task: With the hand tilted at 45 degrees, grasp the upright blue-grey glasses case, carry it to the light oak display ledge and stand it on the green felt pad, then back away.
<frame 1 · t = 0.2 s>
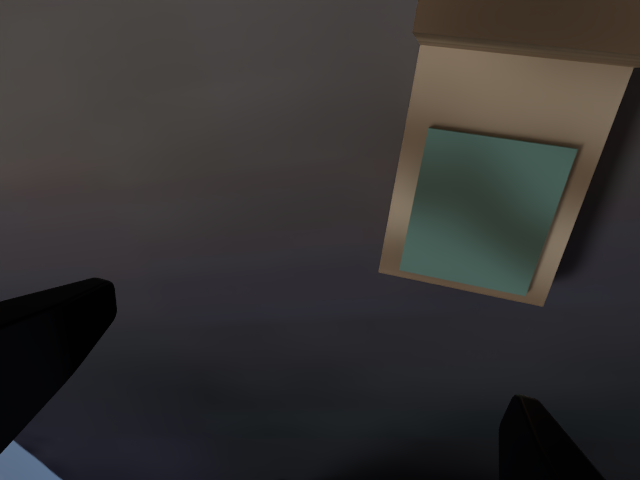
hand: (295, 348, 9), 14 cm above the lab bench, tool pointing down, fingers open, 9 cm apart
display ledge: (485, 162, 20), on the lab bench
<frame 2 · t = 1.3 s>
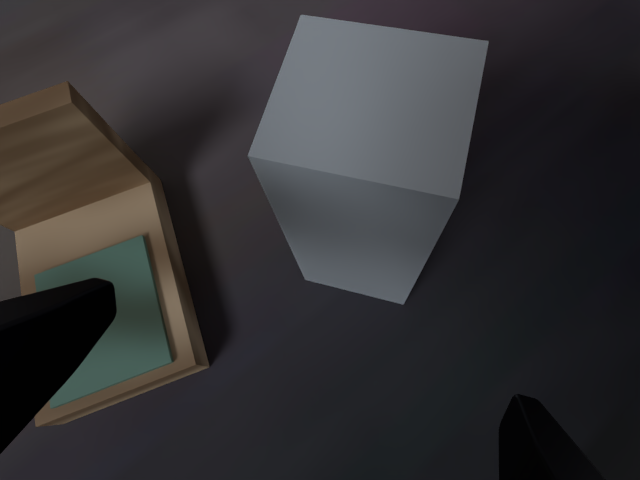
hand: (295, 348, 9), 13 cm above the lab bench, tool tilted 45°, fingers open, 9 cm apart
glasses case: (364, 249, 24), on the lab bench
display ledge: (116, 290, 24), on the lab bench
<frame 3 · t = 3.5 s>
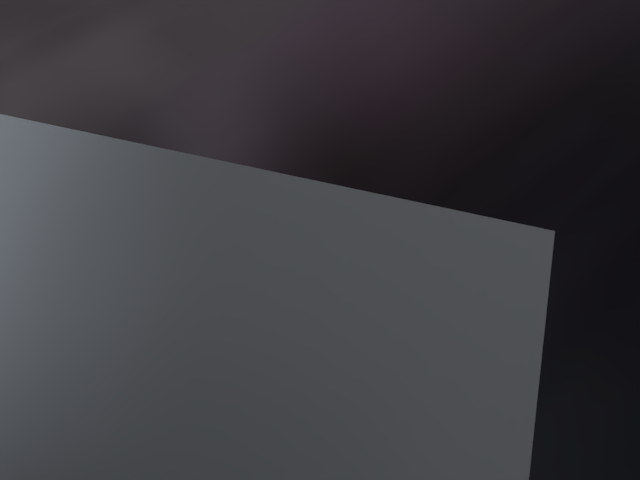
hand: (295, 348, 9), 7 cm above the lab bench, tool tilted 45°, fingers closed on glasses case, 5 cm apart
glasses case: (311, 404, 15), on the lab bench, touching gripper
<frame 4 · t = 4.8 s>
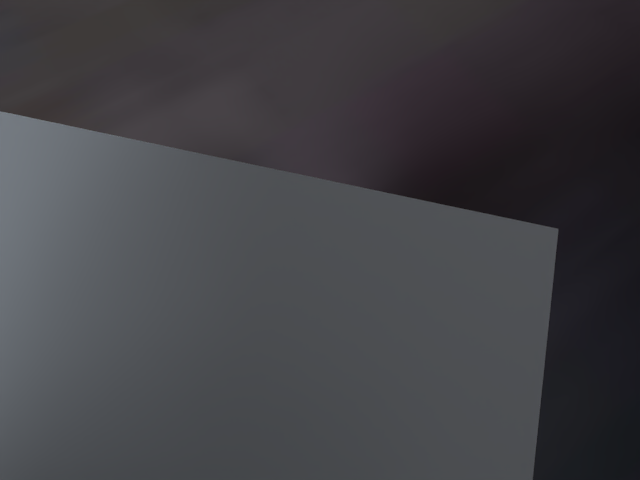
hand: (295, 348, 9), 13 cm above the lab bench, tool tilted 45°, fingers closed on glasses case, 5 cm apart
glasses case: (312, 403, 15), point 6 cm above the lab bench, touching gripper
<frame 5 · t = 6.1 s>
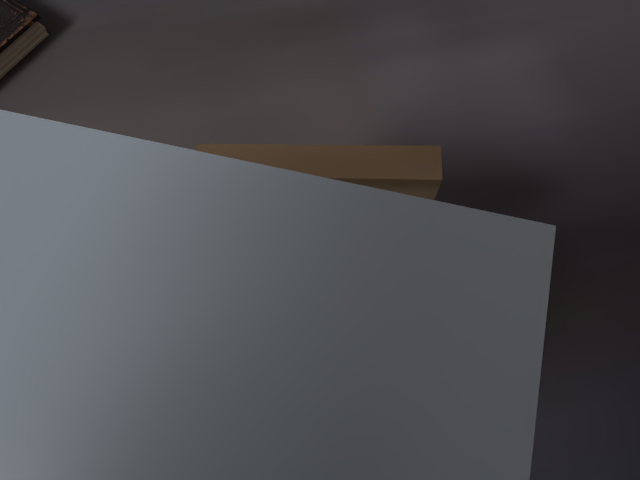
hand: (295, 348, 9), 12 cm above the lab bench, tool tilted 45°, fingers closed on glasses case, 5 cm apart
glasses case: (311, 403, 15), point 4 cm above the lab bench, touching gripper
display ledge: (325, 353, 20), on the lab bench
when the fingers open (10 cm above the lab bench, at t = 6.8 s): glasses case stays where it is, resting on display ledge.
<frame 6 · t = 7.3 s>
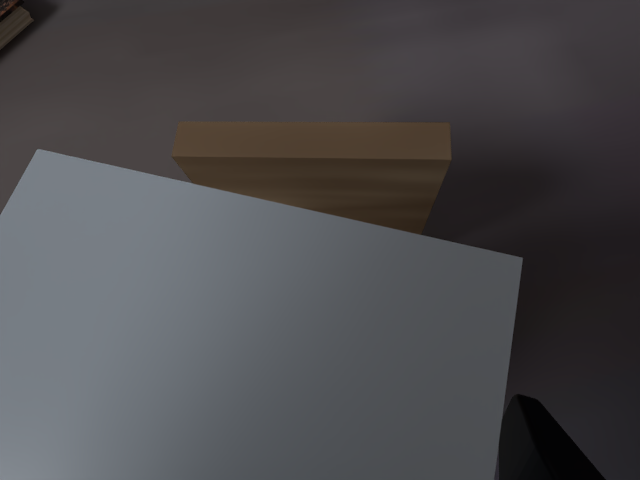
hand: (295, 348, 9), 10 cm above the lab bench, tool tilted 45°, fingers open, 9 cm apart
glasses case: (313, 403, 16), point 2 cm above the lab bench, touching display ledge
display ledge: (321, 354, 19), on the lab bench
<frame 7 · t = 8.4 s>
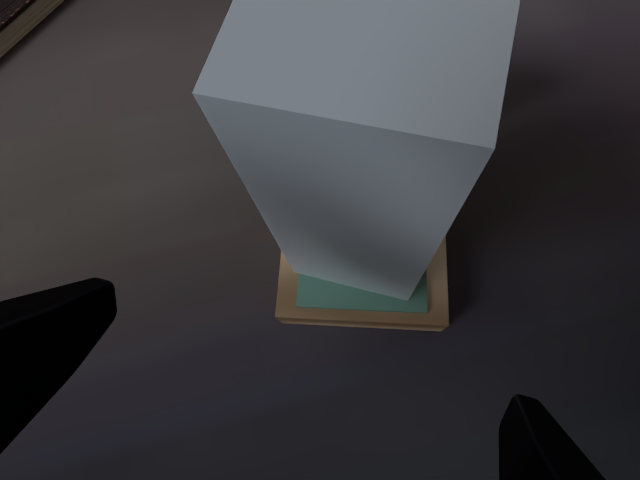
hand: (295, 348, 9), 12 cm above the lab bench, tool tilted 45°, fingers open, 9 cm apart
glasses case: (362, 237, 20), point 2 cm above the lab bench, touching display ledge
display ledge: (363, 217, 23), on the lab bench
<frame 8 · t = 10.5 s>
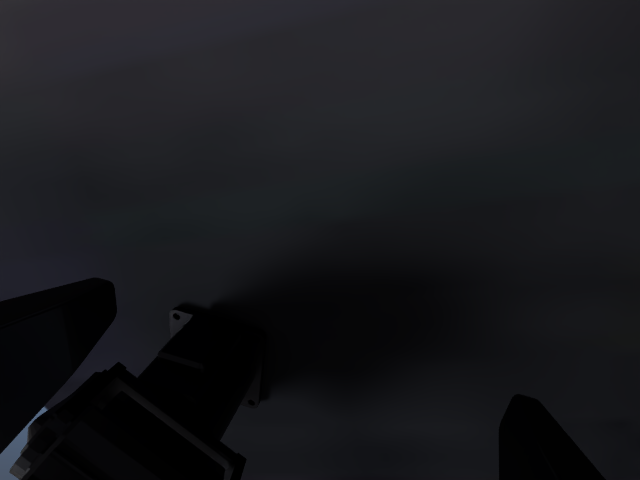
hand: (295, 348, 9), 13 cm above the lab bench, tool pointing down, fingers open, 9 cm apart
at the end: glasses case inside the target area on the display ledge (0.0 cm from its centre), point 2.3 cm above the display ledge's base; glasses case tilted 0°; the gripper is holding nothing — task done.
